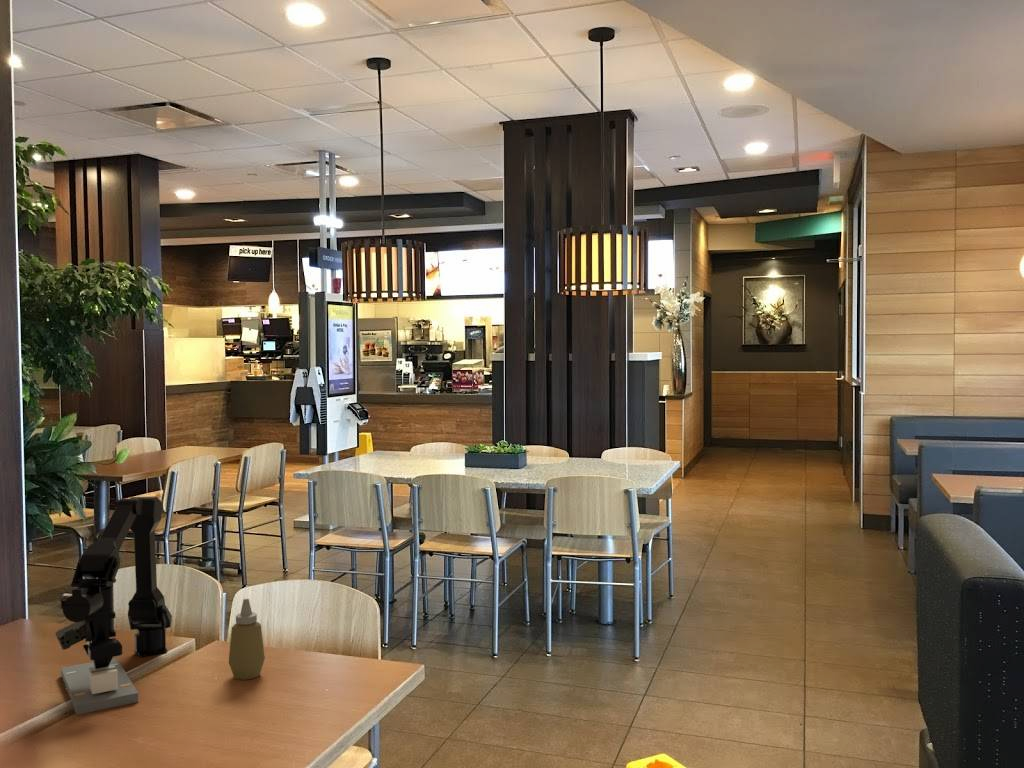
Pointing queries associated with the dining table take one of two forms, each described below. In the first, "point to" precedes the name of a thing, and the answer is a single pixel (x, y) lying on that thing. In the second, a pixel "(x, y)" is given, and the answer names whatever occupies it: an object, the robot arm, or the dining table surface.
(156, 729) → the dining table surface
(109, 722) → the dining table surface
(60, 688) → the dining table surface
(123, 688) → the plate
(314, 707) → the dining table surface
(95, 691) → the cap
